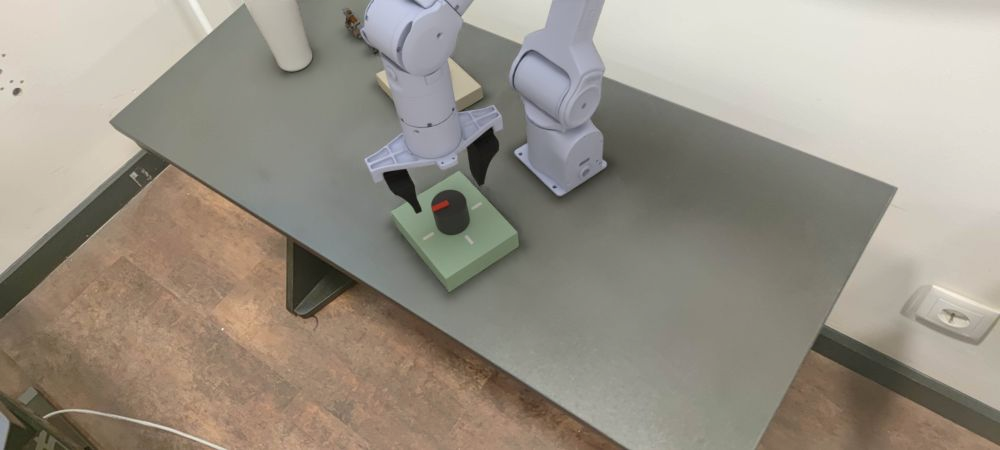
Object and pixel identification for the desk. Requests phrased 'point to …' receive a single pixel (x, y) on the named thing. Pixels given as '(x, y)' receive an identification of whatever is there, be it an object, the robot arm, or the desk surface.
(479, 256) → the dial panel
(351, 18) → the wooden post with brackets
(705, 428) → the desk surface
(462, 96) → the push button base
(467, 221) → the dial
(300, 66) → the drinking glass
